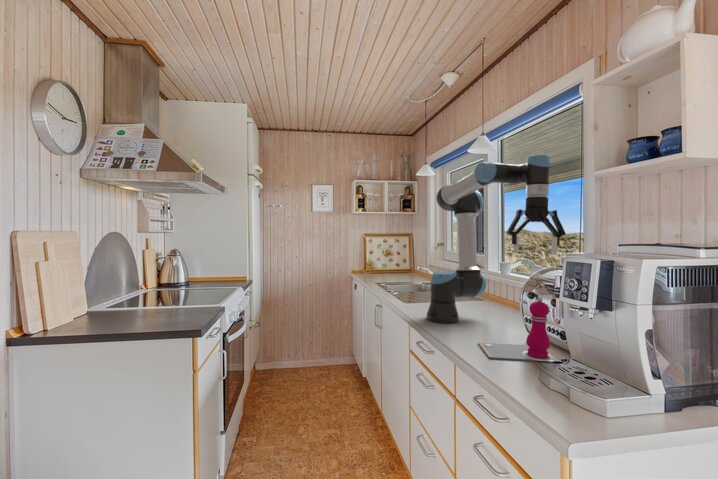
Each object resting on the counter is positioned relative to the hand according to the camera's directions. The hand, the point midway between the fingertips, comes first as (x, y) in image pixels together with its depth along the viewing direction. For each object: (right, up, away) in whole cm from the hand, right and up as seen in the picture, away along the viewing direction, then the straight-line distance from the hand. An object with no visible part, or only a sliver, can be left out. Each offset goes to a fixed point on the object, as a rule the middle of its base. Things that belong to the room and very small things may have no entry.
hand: (535, 254), depth 134 cm
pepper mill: (-5, -34, -12) cm, 37 cm away
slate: (-11, -35, -7) cm, 37 cm away
